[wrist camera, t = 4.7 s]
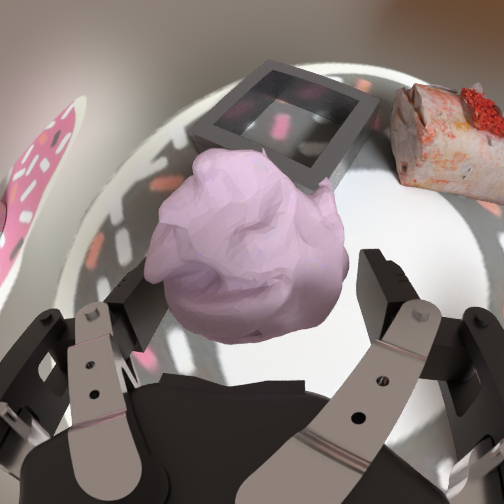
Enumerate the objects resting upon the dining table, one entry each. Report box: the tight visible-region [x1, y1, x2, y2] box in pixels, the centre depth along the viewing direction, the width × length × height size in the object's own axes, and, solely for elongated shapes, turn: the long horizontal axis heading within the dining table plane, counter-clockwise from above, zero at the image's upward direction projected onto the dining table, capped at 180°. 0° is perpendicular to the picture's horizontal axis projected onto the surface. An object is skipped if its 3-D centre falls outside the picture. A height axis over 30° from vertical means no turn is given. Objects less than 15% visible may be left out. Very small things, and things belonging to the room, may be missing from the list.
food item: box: [389, 83, 504, 206], centre depth 17 cm, size 14×8×10 cm, turn 82°
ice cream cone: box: [144, 148, 349, 345], centre depth 13 cm, size 7×6×15 cm
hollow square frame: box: [188, 60, 381, 195], centre depth 23 cm, size 12×12×4 cm
